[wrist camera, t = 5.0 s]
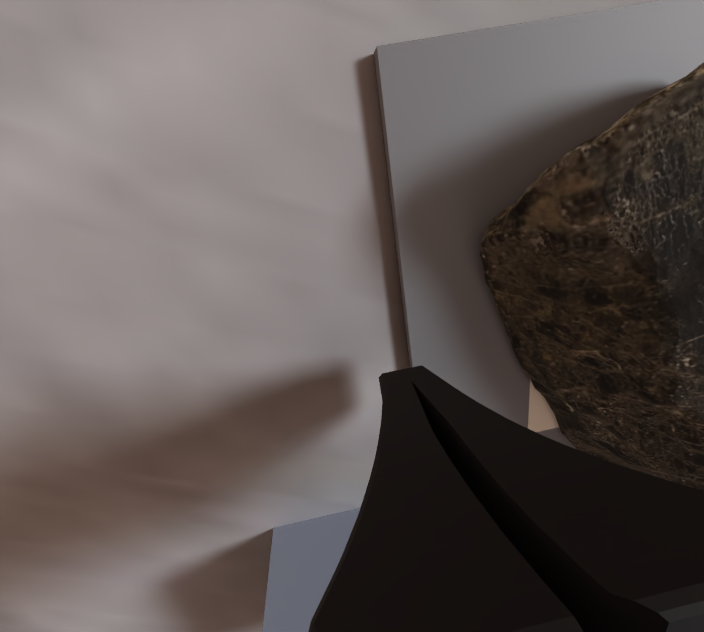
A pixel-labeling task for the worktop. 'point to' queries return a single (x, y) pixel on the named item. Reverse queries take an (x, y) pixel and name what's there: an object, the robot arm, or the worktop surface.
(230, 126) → the worktop surface
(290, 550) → the gray cube
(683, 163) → the rock
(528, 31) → the letter board
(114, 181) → the worktop surface
